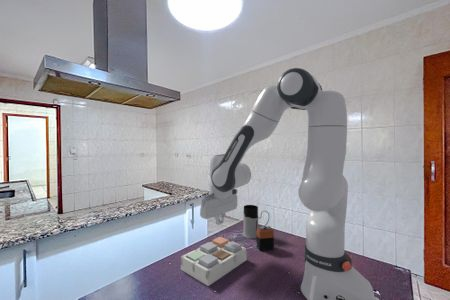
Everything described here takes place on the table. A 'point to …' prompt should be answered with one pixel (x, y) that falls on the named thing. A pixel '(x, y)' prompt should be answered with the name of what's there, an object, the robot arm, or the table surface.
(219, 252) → the key walnut
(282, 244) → the table surface
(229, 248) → the keypad
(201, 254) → the key sage
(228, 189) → the robot arm
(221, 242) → the key terracotta
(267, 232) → the battery
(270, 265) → the table surface
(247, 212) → the glass holder
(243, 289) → the table surface
